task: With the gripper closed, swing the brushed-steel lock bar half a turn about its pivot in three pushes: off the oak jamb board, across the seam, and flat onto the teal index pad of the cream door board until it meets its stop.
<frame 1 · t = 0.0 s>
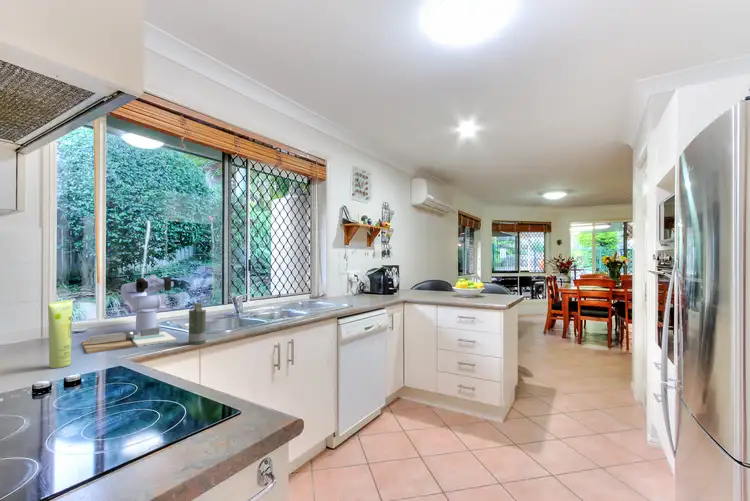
hand: (158, 284, 146), 22 cm above the worktop, tool horizontal, fingers open, 7 cm apart
door board: (151, 339, 146), on the worktop
swing bar: (112, 337, 138), point 3 cm above the worktop, hinge at 0.0°
grenade: (197, 343, 141), on the worktop
jamb board: (107, 345, 137), on the worktop
tube: (59, 366, 111), on the worktop
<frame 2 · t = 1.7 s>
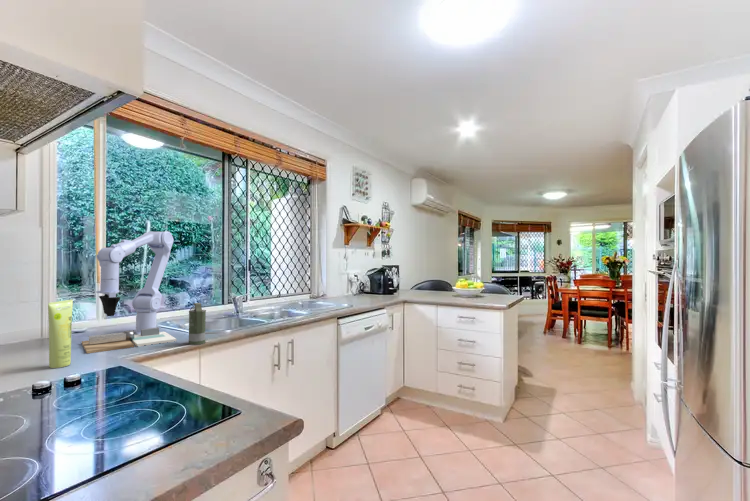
hand: (109, 314, 142), 10 cm above the worktop, tool pointing down, fingers open, 6 cm apart
nothing on the worktop moved.
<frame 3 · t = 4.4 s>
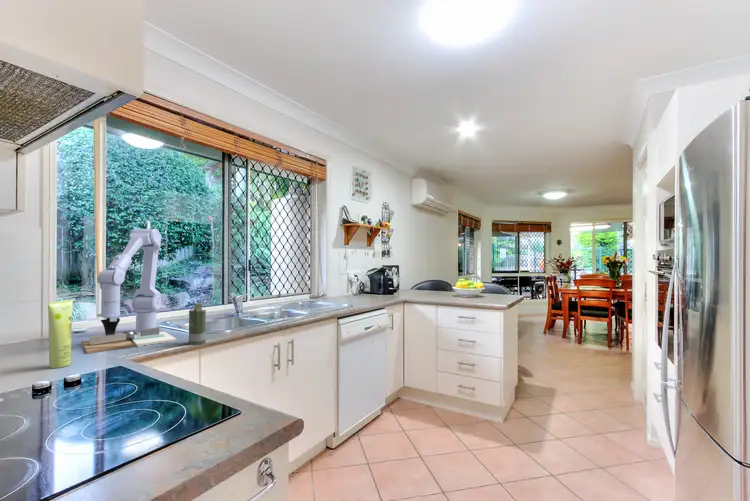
hand: (110, 338, 139), 2 cm above the worktop, tool pointing down, fingers closed, pressing on swing bar
swing bar: (112, 337, 138), point 3 cm above the worktop, hinge at 4.3°, touching gripper
everything else where it was.
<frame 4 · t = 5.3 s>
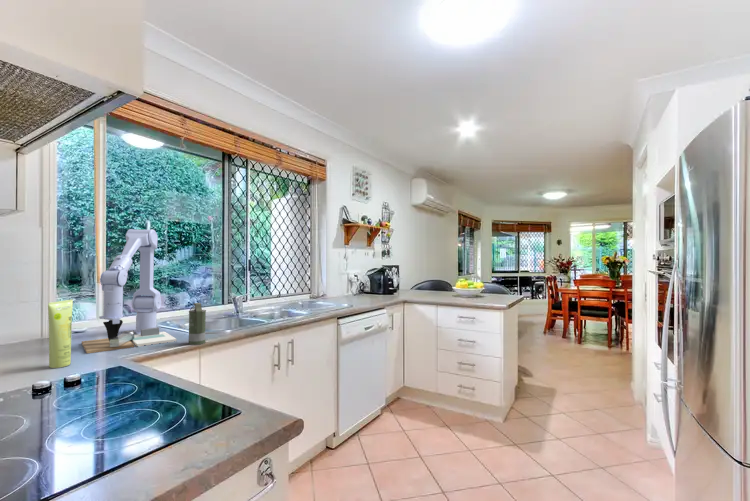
hand: (112, 341, 135), 2 cm above the worktop, tool pointing down, fingers closed, pressing on swing bar
swing bar: (122, 338, 137), point 3 cm above the worktop, hinge at 60.5°, touching gripper
everything else where it was.
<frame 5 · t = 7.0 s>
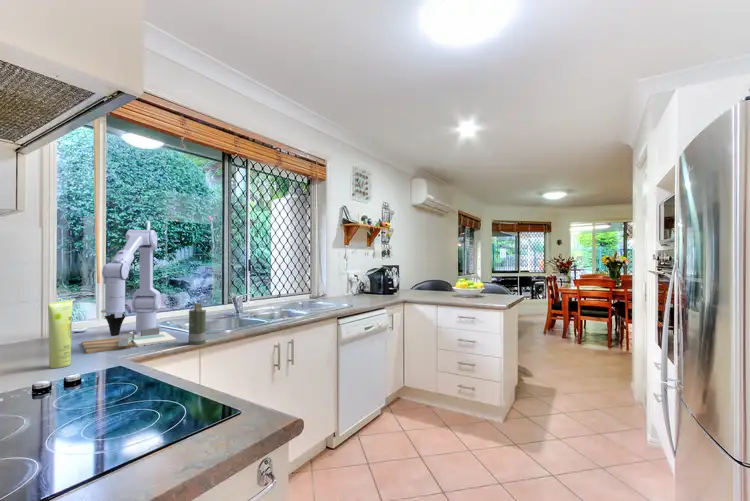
hand: (114, 335, 132), 5 cm above the worktop, tool pointing down, fingers closed
swing bar: (126, 338, 137), point 3 cm above the worktop, hinge at 73.4°
everything else where it was.
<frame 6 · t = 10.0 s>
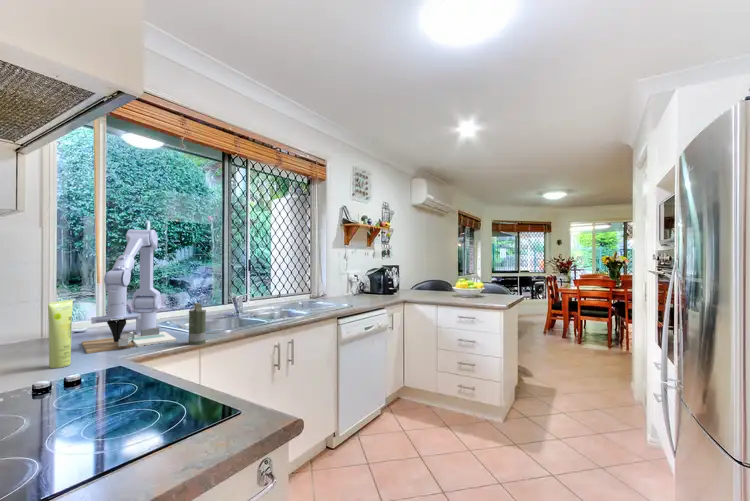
hand: (116, 341, 135), 2 cm above the worktop, tool pointing down, fingers closed
swing bar: (126, 338, 137), point 3 cm above the worktop, hinge at 73.4°, touching gripper
everything else where it was.
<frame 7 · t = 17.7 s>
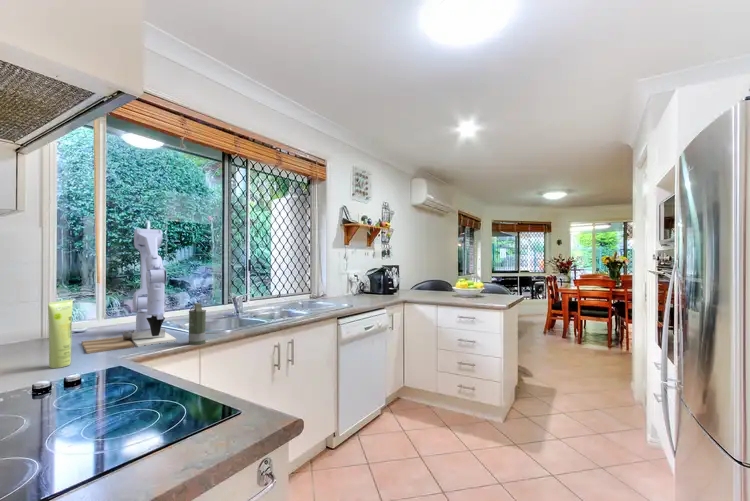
hand: (155, 335, 144), 2 cm above the worktop, tool pointing down, fingers closed
swing bar: (144, 333, 144), point 3 cm above the worktop, hinge at 167.5°, touching gripper
everything else where it was.
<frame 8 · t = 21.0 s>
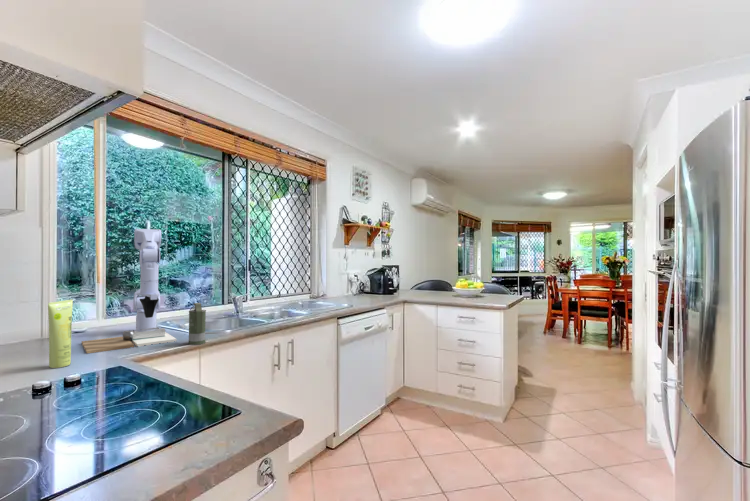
hand: (148, 317, 139), 10 cm above the worktop, tool pointing down, fingers closed
swing bar: (144, 333, 145), point 3 cm above the worktop, hinge at 175.3°
everything else where it was.
at the end: swing bar at +175° (first picture: +0°) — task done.
